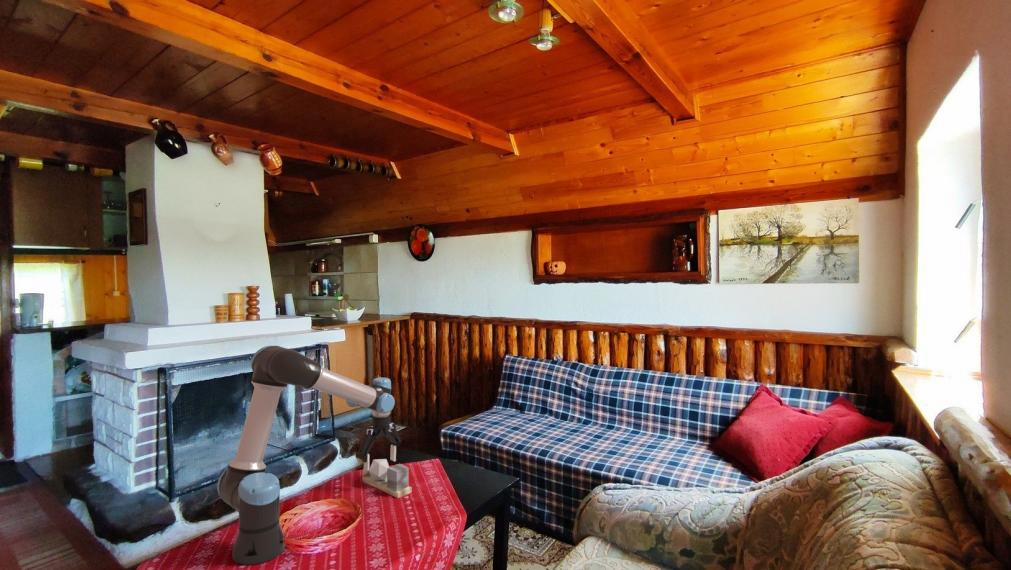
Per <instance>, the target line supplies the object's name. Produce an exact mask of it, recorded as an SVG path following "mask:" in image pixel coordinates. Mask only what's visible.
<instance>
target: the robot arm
mask: <svg viewBox="0 0 1011 570" xmlns="http://www.w3.org/2000/svg"><path fill="white" fill-rule="evenodd" d="M250 367H251V370H252V372H253V374H252V378H251V380H250V381H251V384H252V385H253V387H254V388H253V393H252V397H251V400H250V404H249V407H248V411H247V415H246V418H245V420H244V421H245V423H244V424H243V425H244V426H243V428H242V429H243V430H242V433H241V435H240V436H241V437H240V440H239V443H238V448H237V450H236V454H235V458H234V459H232V460H231V461H229V462H228V466H227V468H226V470H225V471H223V472H222V473H221V474H220V476H219V479H218V481H217V484H216V485H217V487H216V489H217V493H218V496H219V497H220V498H221V500H222V501H223V502H224V503H225V504H227V505H228V506H229V507H231V508H232V509H234V510H235V511H236V512H238V533H237V535H236V539H235V541H234V544H233V547H232V554H231V555H232V560H233V561H234V562H235V563H237V564H240V565H245V566H246V565H257V564H262V563H265V562H268V561H270V560H273V559H275V558H276V557H279V555H280V554H282V553H283V552H284V550H285V547H286V543H285V544H284V541H283V540H282V539H283V538H284V537H285V535H284V532H283V528H282V526H281V524H280V505H281V504H280V503H281V502H280V496H281V495H280V493H281V486H280V480H279V478H278V477H277V476H276V475H275V474H273V473H270V472H267V473H266V469H267V465H266V464H265V462H264V458H265V453H266V450H267V446H268V442H269V439H270V434H271V431H272V426H273V424H274V423H273V422H274V420H275V417H276V416H275V415H276V411H277V408H278V405H279V404H278V403H279V400H280V396H281V393H282V391H283V390H285V389H286V388H288V385H291V386H295V387H299V388H303V389H306V390H310V389H314V390H317V391H320V392H322V393H325V394H328V395H331V396H333V397H337V398H340V399H342V400H345V403H346V405H347V406H348V407H349V408H357V407H363V408H365V409H368V410H371V415H372V416H371V425H372V427H371V429H369V428H366V429H365V432H364V436H363V439H362V440H361V444H360V446H359V448H358V451H357V452H358V454H360V455H362V459H361V461H362V462H363V469H365V470H367V471H368V470H369V467H370V454H369V453H370V451H371V450H372V448H373V445H374V444H375V443H376V441H377V440H378V439H380V438H385V437H386V438H387V439H388V441H390V443H391V445H390V452H389V453H390V459H389V460H390V461H393V462H396V461H397V458H396V457H397V453H398V446H400V444H401V443H402V439H401V438H400V435H399V432H398V429H397V426H396V425H397V424H396V423H394V422H391V412H392V410H393V409H394V406H395V404H396V403H395V398H394V397H393V395H392V381H391V379H390V378H388V377H376V378H374V379H372V384H368V385H366V384H364V383H362V382H359V381H357V380H354V379H352V378H350V377H346V376H344V375H342V374H341V373H340V374H339V373H336V372H334V371H331V370H330V369H328V368H325V367H323V366H322V364H321V362H318V361H315V360H313V359H311V358H310V357H308V356H306V355H304V354H302V353H301V352H298V351H296V350H294V349H292V348H287V347H284V346H280V345H266V346H263V347H261V348H260V349H257V351H256V352H255V353H254V354H253V356H252V357H251V361H250ZM389 430H390V431H391V433H390V431H389Z"/></svg>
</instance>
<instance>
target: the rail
mask: <svg viewBox="0 0 1011 570" xmlns="http://www.w3.org/2000/svg"><path fill="white" fill-rule="evenodd" d="M369 469H370V466H369ZM361 471H362V483H365V484H368V486H369V485H370V486H371V487H373V488H375V489H378V490H380V491H382V492H384V493H386V494H388V495H391V496H392V497H394V498H397V499H400V498H402V497H404V496H406V495H409V494H411V493H412V491H413V489H412V488H413V487H412V486H409V473H410V471H409V466H406V465H404V464H402V463H398V464H395V465H392V466H389V468H388V469H387V478H386V480H383V481H373V480H372V478H371V475H370V473H369V470H368V471H367V470H365V469H364V468H363V469H362V470H361Z"/></svg>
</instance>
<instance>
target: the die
mask: <svg viewBox="0 0 1011 570" xmlns="http://www.w3.org/2000/svg"><path fill="white" fill-rule="evenodd" d="M369 467H370V469H369V473H370V475H371V478H372V480H373V481H383V480H386V478H387V469H388V468H389V467H390V465H389V462H388V460H387V458H379V459H378V458H377V459H376V458H375V459H372V463H371V464H370V465H369Z"/></svg>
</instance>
